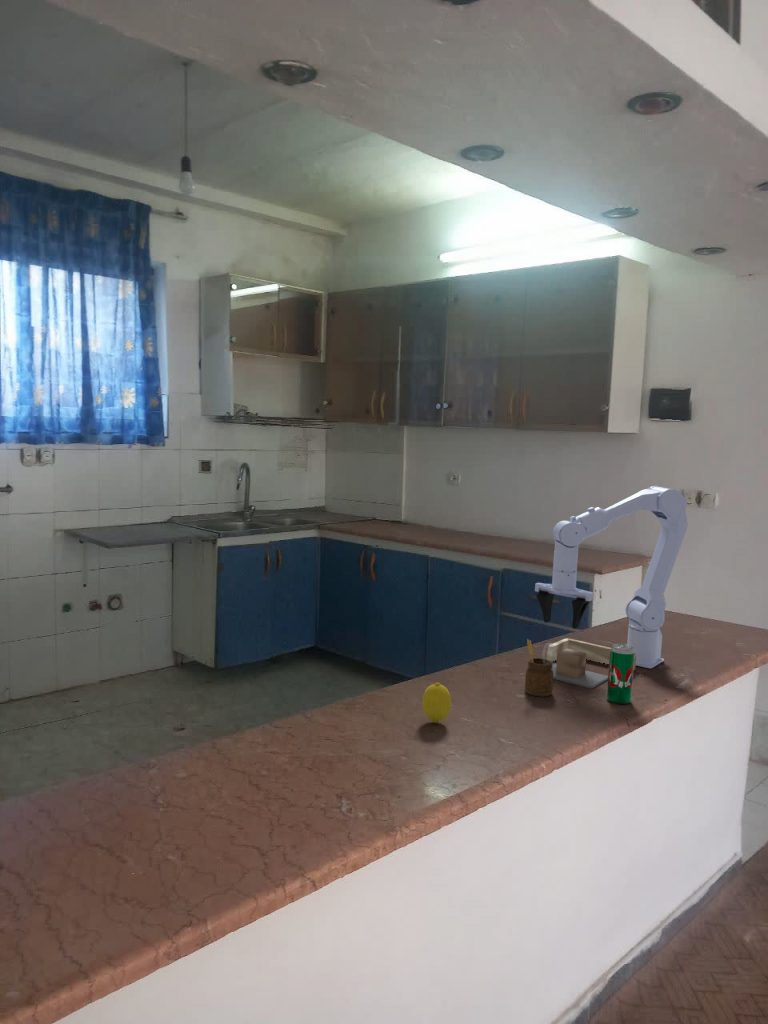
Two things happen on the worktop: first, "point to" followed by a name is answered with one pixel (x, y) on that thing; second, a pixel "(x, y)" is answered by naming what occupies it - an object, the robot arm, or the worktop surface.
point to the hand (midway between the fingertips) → (561, 624)
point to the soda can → (620, 673)
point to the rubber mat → (581, 678)
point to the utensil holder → (539, 675)
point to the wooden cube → (571, 663)
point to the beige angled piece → (582, 650)
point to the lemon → (436, 702)
